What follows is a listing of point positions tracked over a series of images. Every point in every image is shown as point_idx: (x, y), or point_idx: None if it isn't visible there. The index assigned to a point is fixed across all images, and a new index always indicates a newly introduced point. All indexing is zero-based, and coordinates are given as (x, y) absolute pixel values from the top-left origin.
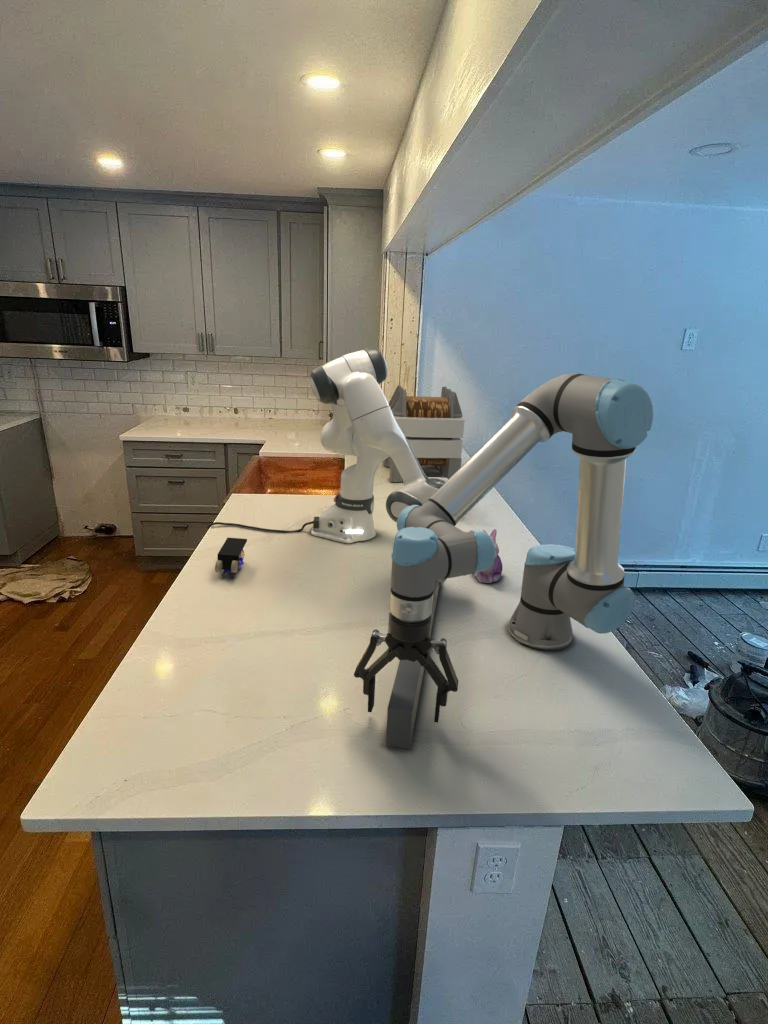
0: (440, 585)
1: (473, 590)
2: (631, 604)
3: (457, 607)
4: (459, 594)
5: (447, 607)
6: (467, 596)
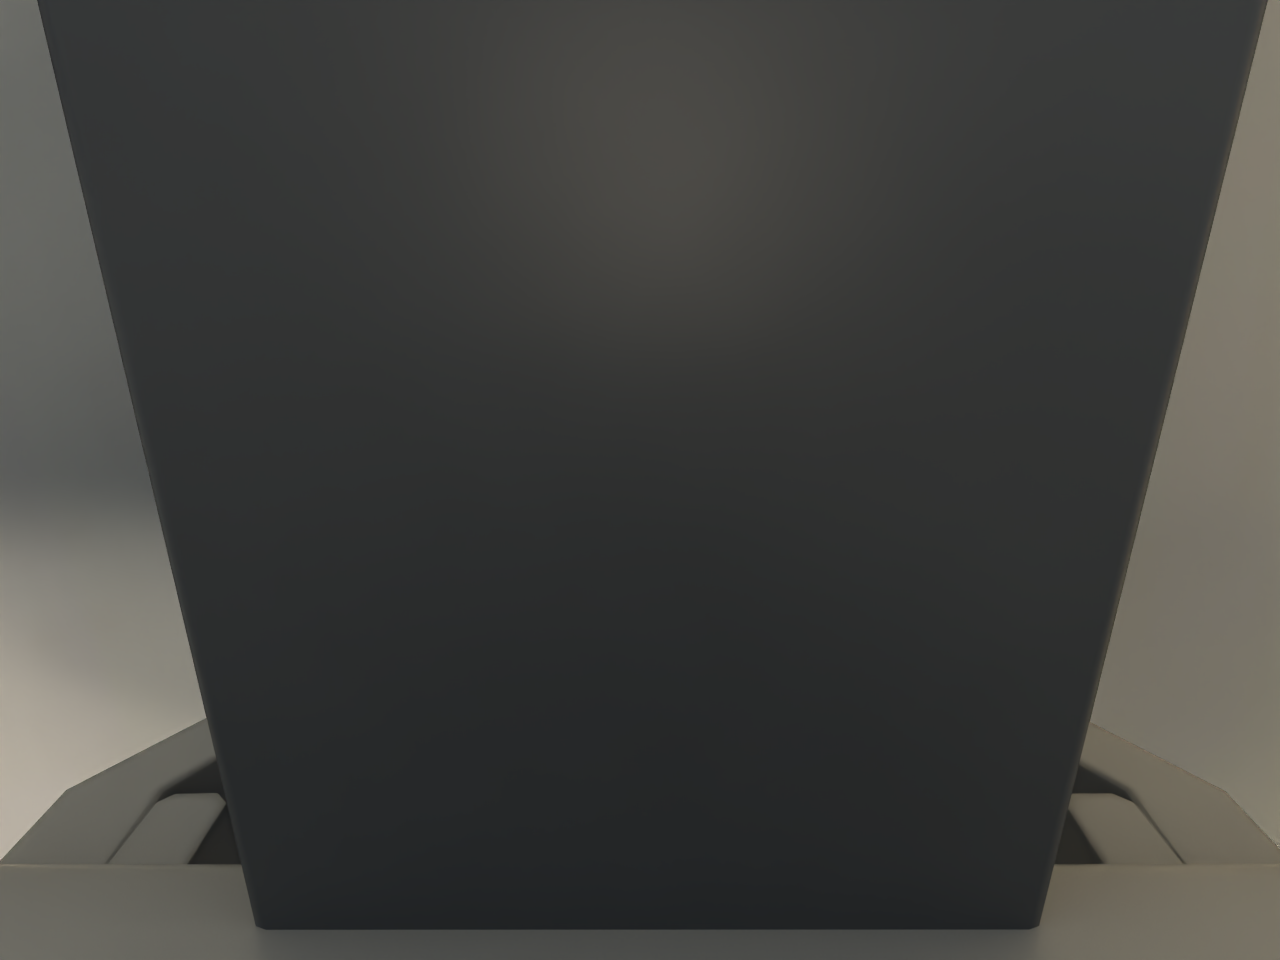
0: None
1: (12, 824)
2: None
3: (73, 211)
4: (175, 670)
5: None
6: (36, 639)
